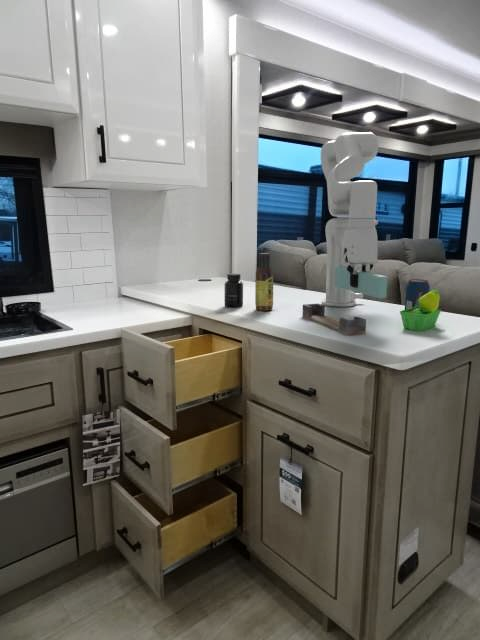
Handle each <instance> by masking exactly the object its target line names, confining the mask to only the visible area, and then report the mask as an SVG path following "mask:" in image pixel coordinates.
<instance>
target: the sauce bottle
mask: <svg viewBox="0 0 480 640" xmlns="http://www.w3.org/2000/svg"><path fill="white" fill-rule="evenodd" d="M270 259H271V253H269V252H259V253H258V268H257V269H256V272H255V287H254V288H255V289H254V290H255V293H254V294H255V297H254V298H255V302H254V303H255V310H256V311H258V312H259V311H261V312H267V311H272V310H273V307H274V275H273V274H274V273H273V271H272V268H271V260H270Z"/></svg>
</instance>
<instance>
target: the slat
mask: <svg viewBox="0 0 480 640" xmlns="http://www.w3.org/2000/svg"><path fill="white" fill-rule="evenodd" d="M357 274H358V287H357V288H355V287H351V286H350V273H349V272H348V270H347V269H346V268H343V267H335V279H334V286H337V287H340V288H344V289H348V290H351V291H352V292H355V293H357V294H358V293H362V294H363V295H366V296H369V297H373V298H376V299H387V292H388V291H387V290H388V278H389V277H388V276H387V275H381V274H377V273H372V272H369V273H368V272H363V271H361V270H358V269H357Z"/></svg>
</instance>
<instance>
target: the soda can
mask: <svg viewBox="0 0 480 640" xmlns="http://www.w3.org/2000/svg"><path fill="white" fill-rule="evenodd" d="M430 287H431V286H430V283H429V280H427V279H421V278H420V279H418V278H417V279H415V278H413V279H408V281H407V284H406V287H405V299H404V300H405V301H404V310H406V309H410V308H414V307H419V302H418V300H419V299H420V298H421V297H422V296H423V295H426V294H427V293H429V292H430V291H431V289H430Z"/></svg>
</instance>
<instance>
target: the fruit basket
mask: <svg viewBox="0 0 480 640" xmlns="http://www.w3.org/2000/svg"><path fill="white" fill-rule="evenodd" d="M440 301H441V295H440V292H439V291H438V290H437V289H436V290H435V289H432V290H431V289H430V290H429V293H427V294H426V295H423V296H422V297H421V298H420V299H419V300H418V302H419V307H414V308H410V309H406V310H405V309H403V310H399V313H400V316H401V322H402V325H403V329H406V330H411V331H418V332H423V331H425V330H429V329H431V328H434V327H435V326H436V323H437V321H438V319H439V316H440V314H441V311H442V310H441V309H438V308H439V305H440Z"/></svg>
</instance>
